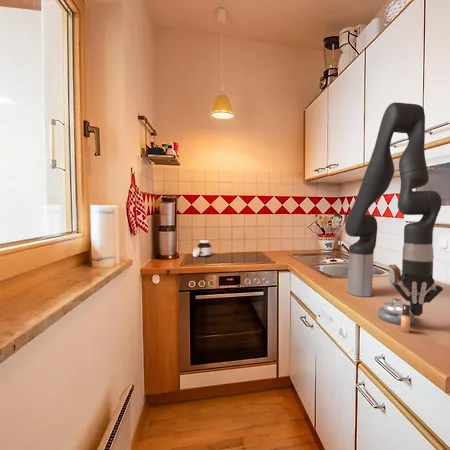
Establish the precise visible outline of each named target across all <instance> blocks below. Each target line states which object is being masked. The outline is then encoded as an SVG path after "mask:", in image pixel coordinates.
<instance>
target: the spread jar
mask: <svg viewBox="0 0 450 450" xmlns="http://www.w3.org/2000/svg"><path fill="white" fill-rule="evenodd" d="M212 250H213V249H212V244H211V243H210V240H208V239H200V240H199V243H198V244H197V246H196V247H194V249H193V251H192V257H194V258H198V257H200V258H208V257H209V258H210V256H211V255H212V252H213V251H212Z"/></svg>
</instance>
